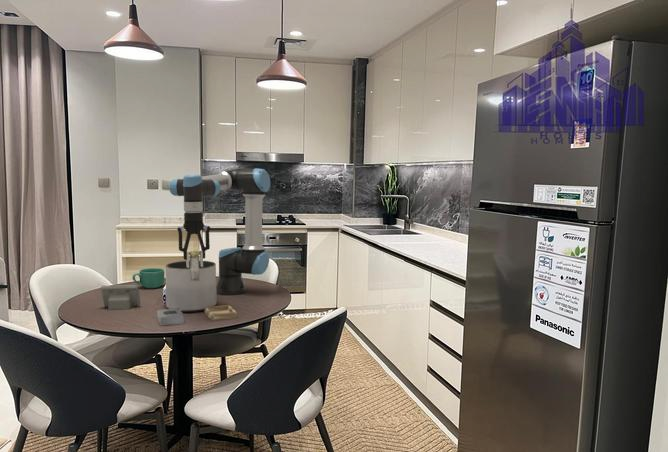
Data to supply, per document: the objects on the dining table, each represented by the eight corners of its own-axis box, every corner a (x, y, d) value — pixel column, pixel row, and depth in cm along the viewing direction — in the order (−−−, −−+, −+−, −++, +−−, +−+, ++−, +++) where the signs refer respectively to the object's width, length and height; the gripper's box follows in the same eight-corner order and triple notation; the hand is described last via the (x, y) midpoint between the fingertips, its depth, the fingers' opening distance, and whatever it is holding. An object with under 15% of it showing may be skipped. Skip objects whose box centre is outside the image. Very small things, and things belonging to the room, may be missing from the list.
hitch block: (157, 318, 206) (157, 310, 205) (179, 315, 210) (179, 307, 209) (160, 326, 195) (160, 317, 195) (183, 323, 199) (183, 315, 199)
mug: (161, 283, 273) (160, 267, 272) (167, 288, 263) (167, 270, 262) (129, 287, 263) (129, 270, 263) (135, 291, 253) (134, 273, 252)
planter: (217, 300, 238) (216, 259, 236) (216, 312, 216) (215, 268, 214) (169, 302, 233) (168, 260, 231) (162, 314, 211) (161, 269, 209)
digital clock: (142, 305, 226) (141, 283, 225) (133, 310, 217) (132, 287, 216) (108, 304, 227) (107, 282, 226) (98, 309, 218) (97, 286, 217)
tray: (204, 312, 215) (204, 307, 215) (229, 309, 220) (229, 304, 220) (211, 320, 203) (211, 315, 203) (237, 317, 208) (237, 312, 208)
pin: (187, 279, 207) (187, 251, 205) (199, 278, 209) (199, 250, 208) (189, 281, 202) (189, 253, 201) (202, 280, 204) (201, 252, 203)
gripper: (171, 213, 195) (173, 269, 198) (216, 212, 203) (217, 266, 205) (169, 211, 202) (171, 266, 205) (213, 210, 210) (214, 263, 212)
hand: (194, 266), depth 205 cm, fingers closed on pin, 5 cm apart
